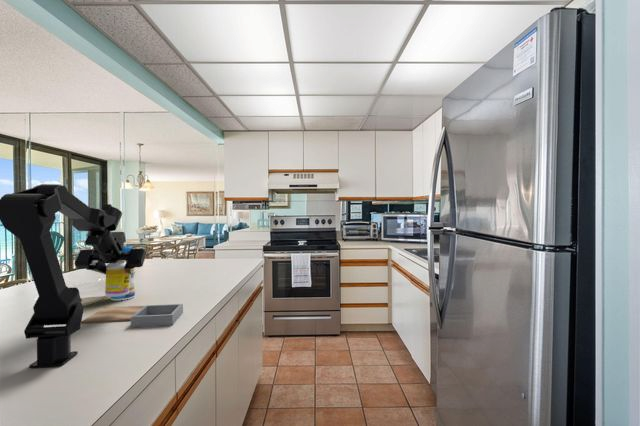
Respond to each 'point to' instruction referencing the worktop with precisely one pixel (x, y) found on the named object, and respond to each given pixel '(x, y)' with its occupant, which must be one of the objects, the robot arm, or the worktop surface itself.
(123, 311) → the tan cardboard sheet
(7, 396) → the worktop surface
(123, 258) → the robot arm
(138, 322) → the bin
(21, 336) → the worktop surface
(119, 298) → the beverage bottle
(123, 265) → the supplement bottle
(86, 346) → the worktop surface
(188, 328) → the worktop surface
